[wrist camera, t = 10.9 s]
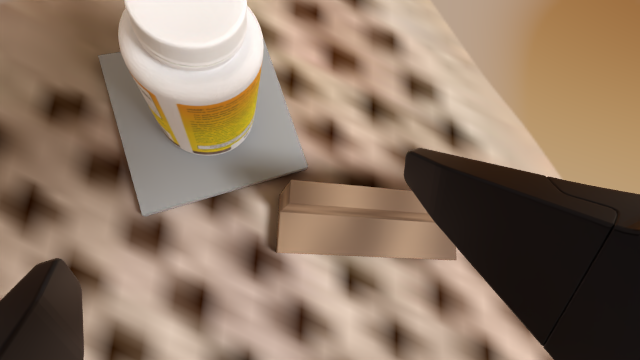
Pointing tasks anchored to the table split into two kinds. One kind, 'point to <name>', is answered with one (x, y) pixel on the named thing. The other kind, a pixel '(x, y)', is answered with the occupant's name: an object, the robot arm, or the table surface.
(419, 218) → the brown wooden block
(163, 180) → the slate grey mat
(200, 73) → the supplement bottle
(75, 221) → the table surface
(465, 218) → the robot arm
